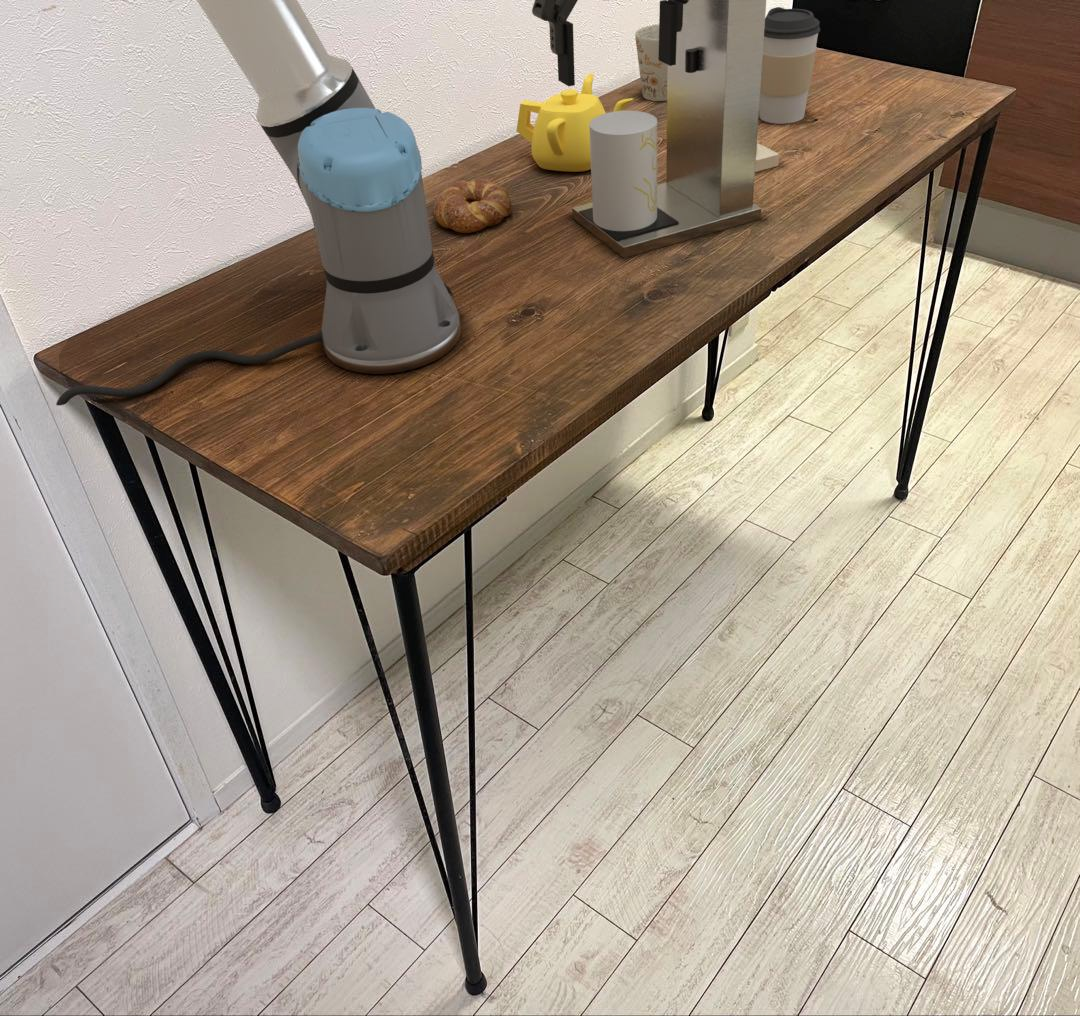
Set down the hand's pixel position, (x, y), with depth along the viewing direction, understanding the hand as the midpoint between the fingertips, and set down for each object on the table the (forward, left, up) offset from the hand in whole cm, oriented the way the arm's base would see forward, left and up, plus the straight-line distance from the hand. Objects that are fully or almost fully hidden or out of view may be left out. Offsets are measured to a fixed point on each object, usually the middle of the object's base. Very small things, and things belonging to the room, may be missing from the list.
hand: (617, 72), depth 118 cm
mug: (+33, +41, -20) cm, 56 cm away
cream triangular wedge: (+24, +10, -19) cm, 32 cm away
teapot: (+7, +25, -20) cm, 32 cm away
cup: (+1, 0, -18) cm, 18 cm away
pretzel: (-14, +15, -20) cm, 29 cm away
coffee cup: (+41, +22, -20) cm, 50 cm away
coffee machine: (+8, 0, -19) cm, 21 cm away
